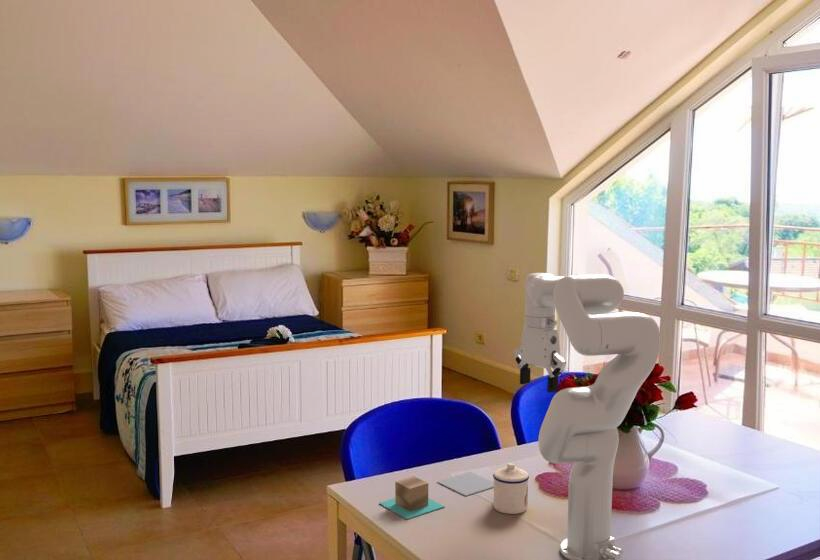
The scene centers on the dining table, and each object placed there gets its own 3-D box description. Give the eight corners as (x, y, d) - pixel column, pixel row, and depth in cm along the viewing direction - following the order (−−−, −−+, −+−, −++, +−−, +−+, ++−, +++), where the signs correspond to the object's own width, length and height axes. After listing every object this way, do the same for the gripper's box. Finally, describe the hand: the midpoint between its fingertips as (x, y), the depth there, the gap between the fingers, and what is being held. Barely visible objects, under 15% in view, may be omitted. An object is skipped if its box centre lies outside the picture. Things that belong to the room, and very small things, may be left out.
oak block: (428, 505, 214) (428, 483, 213) (410, 511, 210) (409, 488, 210) (413, 498, 219) (413, 476, 218) (395, 503, 215) (395, 481, 214)
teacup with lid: (533, 513, 210) (534, 469, 208) (498, 516, 208) (499, 471, 207) (518, 494, 222) (518, 452, 220) (485, 497, 220) (485, 455, 218)
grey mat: (499, 485, 228) (499, 484, 228) (465, 496, 221) (465, 495, 221) (470, 472, 237) (470, 471, 237) (437, 482, 230) (437, 481, 230)
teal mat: (444, 507, 214) (444, 506, 214) (407, 519, 206) (407, 518, 206) (415, 492, 223) (415, 491, 223) (379, 503, 216) (379, 502, 216)
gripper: (575, 325, 207) (574, 392, 209) (526, 315, 220) (524, 378, 223) (554, 329, 202) (553, 397, 205) (505, 318, 216) (504, 382, 218)
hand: (538, 387), depth 214 cm, fingers open, 9 cm apart
